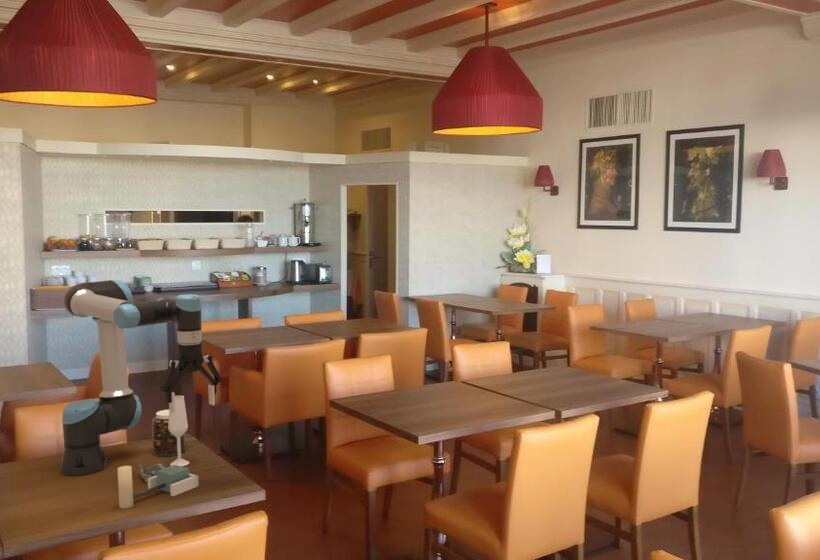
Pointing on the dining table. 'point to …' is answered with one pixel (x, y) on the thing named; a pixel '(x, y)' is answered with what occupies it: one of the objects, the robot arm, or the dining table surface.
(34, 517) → the dining table surface
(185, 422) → the champagne flute
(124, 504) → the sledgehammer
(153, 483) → the white u-shaped bracket
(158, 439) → the jar
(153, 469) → the egg carton
